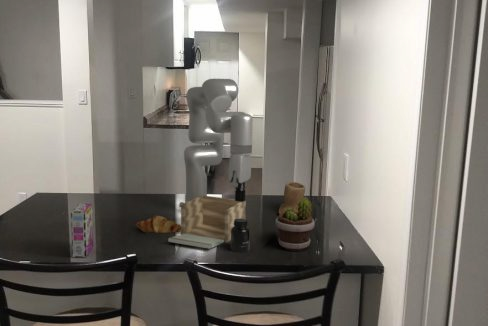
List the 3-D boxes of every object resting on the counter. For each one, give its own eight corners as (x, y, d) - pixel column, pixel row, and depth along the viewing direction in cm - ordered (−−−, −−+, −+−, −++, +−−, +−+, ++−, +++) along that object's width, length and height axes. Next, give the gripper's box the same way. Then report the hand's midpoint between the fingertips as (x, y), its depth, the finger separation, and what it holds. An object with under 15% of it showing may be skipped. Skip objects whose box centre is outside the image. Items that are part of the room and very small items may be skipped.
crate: (201, 225, 199) (201, 195, 197) (245, 232, 191) (245, 200, 189) (181, 237, 184) (181, 204, 181) (227, 245, 176) (228, 211, 174)
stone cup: (303, 219, 211) (304, 186, 208) (276, 217, 213) (277, 185, 211) (305, 210, 225) (306, 179, 223) (280, 208, 228) (281, 178, 225)
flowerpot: (274, 253, 169) (276, 199, 165) (274, 239, 184) (275, 189, 180) (315, 254, 168) (318, 200, 164) (311, 240, 183) (313, 190, 180)
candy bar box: (87, 257, 161) (85, 211, 158) (72, 258, 161) (69, 211, 158) (94, 246, 172) (92, 203, 169) (80, 246, 172) (78, 203, 169)
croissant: (186, 240, 191) (190, 221, 193) (179, 236, 182) (183, 216, 184) (138, 234, 196) (142, 215, 198) (128, 230, 186) (133, 210, 188)
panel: (184, 233, 183) (168, 237, 172) (223, 239, 176) (209, 244, 165) (184, 236, 183) (168, 241, 172) (223, 243, 176) (209, 248, 165)
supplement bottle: (247, 256, 165) (248, 223, 163) (228, 254, 167) (228, 222, 164) (251, 249, 172) (251, 218, 170) (232, 248, 173) (233, 216, 171)
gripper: (239, 146, 171) (238, 195, 174) (221, 151, 157) (221, 204, 161) (259, 147, 168) (257, 197, 171) (242, 153, 155) (241, 207, 158)
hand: (240, 200), depth 166 cm, fingers closed
